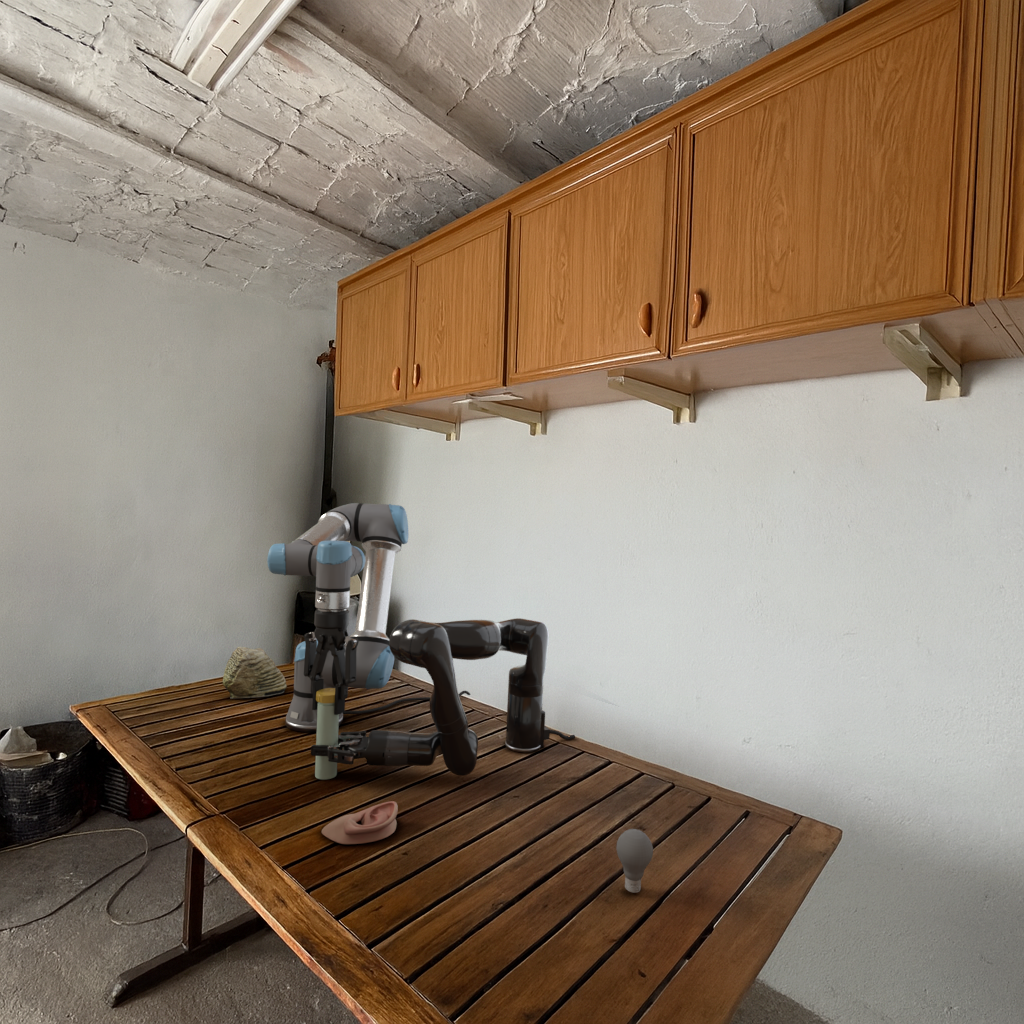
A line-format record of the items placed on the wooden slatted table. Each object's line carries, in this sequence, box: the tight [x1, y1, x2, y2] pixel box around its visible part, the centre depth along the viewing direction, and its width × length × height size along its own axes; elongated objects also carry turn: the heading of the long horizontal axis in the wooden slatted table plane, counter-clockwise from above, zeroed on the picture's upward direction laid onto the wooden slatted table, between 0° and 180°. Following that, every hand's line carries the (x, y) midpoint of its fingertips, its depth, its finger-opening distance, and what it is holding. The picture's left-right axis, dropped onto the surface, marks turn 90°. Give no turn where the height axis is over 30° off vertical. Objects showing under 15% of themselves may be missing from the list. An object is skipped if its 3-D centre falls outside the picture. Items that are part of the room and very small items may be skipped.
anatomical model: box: [321, 800, 399, 845], centre depth 121 cm, size 13×4×12 cm
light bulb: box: [615, 828, 654, 894], centre depth 106 cm, size 6×6×10 cm
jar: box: [314, 702, 340, 781], centre depth 144 cm, size 5×5×18 cm
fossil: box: [222, 646, 288, 699], centre depth 198 cm, size 9×18×15 cm, turn 132°
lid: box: [316, 688, 335, 703], centre depth 144 cm, size 6×6×2 cm
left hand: (328, 710), depth 144 cm, fingers closed on lid, 5 cm apart
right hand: (315, 745), depth 144 cm, fingers closed on jar, 4 cm apart
